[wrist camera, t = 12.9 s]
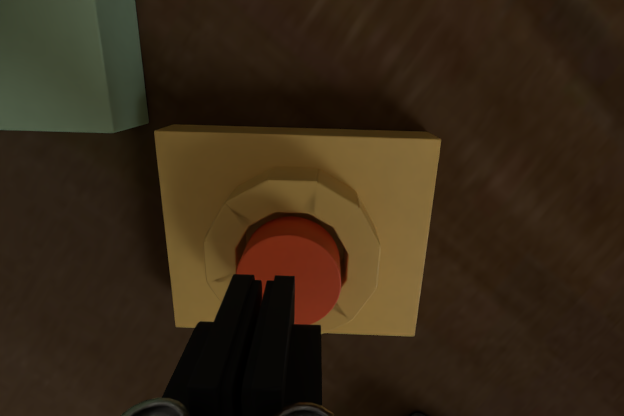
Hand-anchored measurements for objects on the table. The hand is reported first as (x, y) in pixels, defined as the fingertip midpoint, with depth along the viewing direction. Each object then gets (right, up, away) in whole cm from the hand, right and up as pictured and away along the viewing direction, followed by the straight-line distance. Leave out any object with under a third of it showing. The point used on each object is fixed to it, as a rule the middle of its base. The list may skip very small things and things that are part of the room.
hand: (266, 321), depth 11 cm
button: (+1, +1, +4) cm, 4 cm away
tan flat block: (+1, +2, +7) cm, 8 cm away
